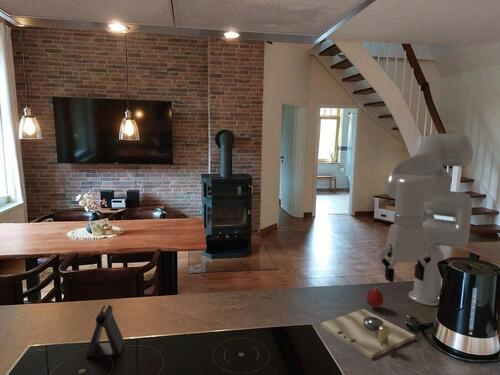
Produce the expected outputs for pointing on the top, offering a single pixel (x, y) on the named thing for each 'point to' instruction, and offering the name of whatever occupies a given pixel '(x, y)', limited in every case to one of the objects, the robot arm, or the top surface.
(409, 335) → the stand board
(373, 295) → the onion
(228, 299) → the top surface
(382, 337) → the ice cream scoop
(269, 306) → the top surface
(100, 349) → the dark triangular stand
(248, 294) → the top surface
